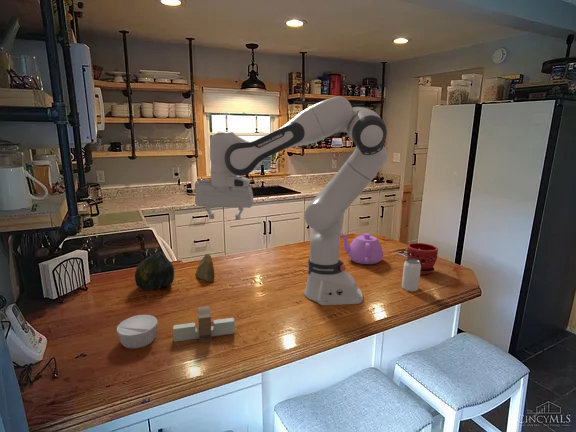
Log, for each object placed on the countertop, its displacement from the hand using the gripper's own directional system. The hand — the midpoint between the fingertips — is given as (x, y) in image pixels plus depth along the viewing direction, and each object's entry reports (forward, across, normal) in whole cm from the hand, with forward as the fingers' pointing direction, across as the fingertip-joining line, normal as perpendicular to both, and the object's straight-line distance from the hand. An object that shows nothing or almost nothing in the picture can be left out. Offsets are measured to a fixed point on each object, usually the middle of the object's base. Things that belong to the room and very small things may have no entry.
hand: (224, 219), depth 122 cm
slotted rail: (+31, -1, -24) cm, 39 cm away
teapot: (+31, +56, +48) cm, 80 cm away
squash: (+31, -31, +8) cm, 45 cm away
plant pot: (+31, +82, +37) cm, 95 cm away
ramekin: (+32, -20, -28) cm, 47 cm away
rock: (+31, -14, +18) cm, 39 cm away
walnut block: (+31, -1, -24) cm, 39 cm away
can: (+31, +72, +17) cm, 80 cm away
